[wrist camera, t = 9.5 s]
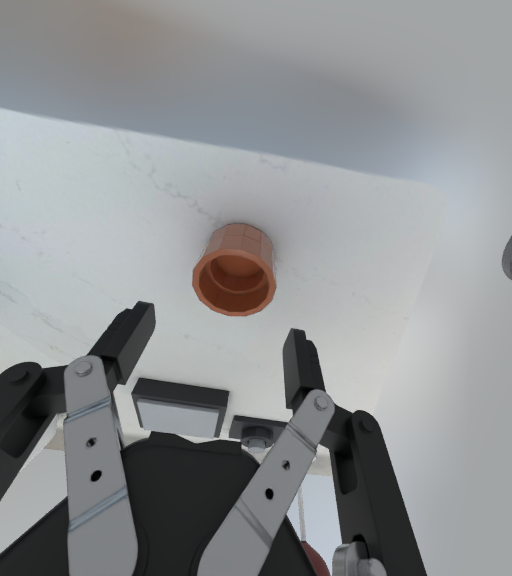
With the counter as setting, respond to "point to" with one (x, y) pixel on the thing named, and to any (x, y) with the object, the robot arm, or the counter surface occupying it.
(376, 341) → the counter surface
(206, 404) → the scale
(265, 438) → the block
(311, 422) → the robot arm
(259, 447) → the button
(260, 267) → the copper hollow cylinder
